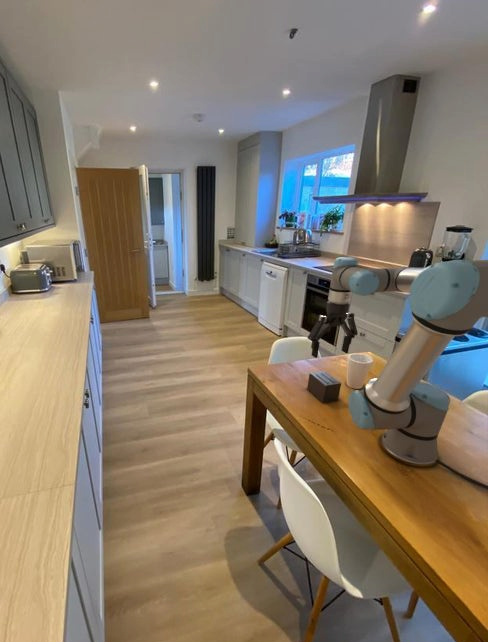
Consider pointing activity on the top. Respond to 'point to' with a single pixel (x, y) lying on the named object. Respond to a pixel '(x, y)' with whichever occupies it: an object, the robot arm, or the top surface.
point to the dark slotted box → (323, 386)
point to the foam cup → (358, 369)
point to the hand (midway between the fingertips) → (329, 354)
